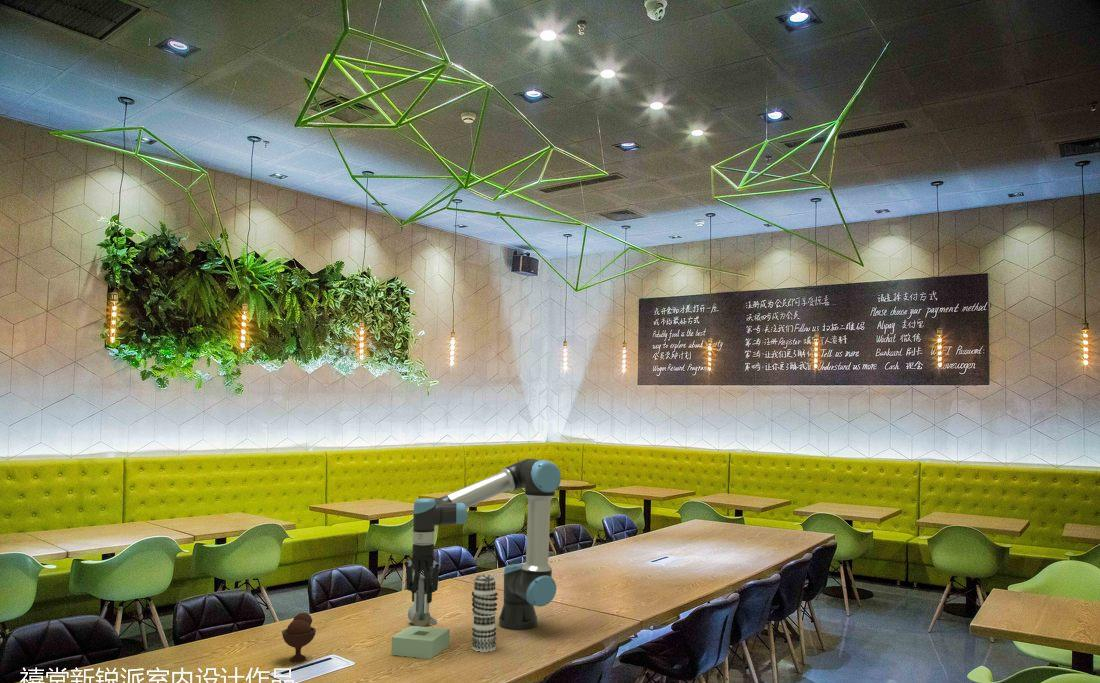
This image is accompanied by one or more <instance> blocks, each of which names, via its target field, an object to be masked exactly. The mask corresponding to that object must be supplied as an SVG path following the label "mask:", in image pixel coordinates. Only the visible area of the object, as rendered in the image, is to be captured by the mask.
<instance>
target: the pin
mask: <svg viewBox="0 0 1100 683" xmlns="http://www.w3.org/2000/svg"><path fill="white" fill-rule="evenodd" d="M426 592H427V591H426V583H425V576H424V577H423V576H422V577H421V576H420V578H418V588H417V620H419V621H422V620H426V613H424V594H425V593H426Z"/></svg>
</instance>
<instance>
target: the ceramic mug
mask: <svg viewBox="0 0 1100 683" xmlns="http://www.w3.org/2000/svg"><path fill="white" fill-rule="evenodd" d="M407 618H408V620H409V621H410V623H412V624H413V626H421V627H427V626H428V624H431V625H434V626H435V625H436V624H437V623H438V620H437V619H436V618H434V617H432V615H431V612H430V611H429V612H427V613H426V620H422V621H419V620H417V612H414V604H412V605H411V606H410V607H409V609H408V611H407Z"/></svg>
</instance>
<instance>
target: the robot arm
mask: <svg viewBox="0 0 1100 683" xmlns="http://www.w3.org/2000/svg"><path fill="white" fill-rule="evenodd" d="M561 475H562V474H561V471H560V469H559V467H558V466H557V465H556V464H555V463H554V462H552V461H549V460H545V459H535V458H525V459H522V460H520V461H517V462H515V463H512V464H511V465H508V466H506V467H503V468H502V469H501V471H500V472H498V473H495V474H493V475H492V476H488V477H486V478H483V479H481V480H479V481H477V482H475V483H472V484H469V485H467V486H464V487H462V488H460V489H457V490H454V491H452V492H450V493H448V494H446V495H444V496H441V497H438V498H425V497H424V498H423V497H421V498H418V499H415V500H414V502H413V503H414V504H413V511H412V514H413V517H412V518H413V520H412V523H413V524H412V528H413V529H412V542H413V544H412V550H411V551H412V553H411V554H412V557H411V559H410V560H409V559H408V560H407V561H405V562H404V564H403V565H404V566H405V570H406V572H405V576H406V590H407V591H410V592H411V601H412V602H413V605H414V612H417V588H418V578H421V573H422V572H423V575H424V577H425V583H426V591H427V592H426V593H425V594H424V613H427V612H429V613H430V603H432V602H433V598H432V597H433V593H434V592H437V591H438V589H439V588H438V586H439V576H440V569H441V567H442V562H437V561H436V560H435V556H434V555H435V544H434V543H435V527H436V526H449V525H455V526H457V525H460V524H461V525H462V524H465V523H466V521H467V519H468V508H470V507H472V506H474V505H475V506H476V505H478V504H479V503H482V502H484V501H487V500H488V499H490V498H494V497H495V496H499V495H500V494H502V493H505V492H507V491H509V492H514V491H516V490H520V489H524V496H525V497H526V498H527V499H528V504H527V506H528V508H527V525H526V546H525V547H526V548H525V563H515V564H507V565H505V567H504V568H503V569H504V570H503V605H502V608H501V611H500V614H499V617H498V625H499V627H502V628H504V629H509V630H528V629H531V628H535V627H536V626H537V625H538V616H537V613H536V609H535V607H540V608H541V607H544V606H545V607H546V606H547V605H549V604H550V603H551V602H552V601H553V600H554V598H555V596H556V593H557V584H556V581H555V579H554V578H553V577H552V574H553V572H552V571H553V570H552V569H553V568H552V566H550V565H549V551H550V548H549V547H550V523H551V521H550V520H551V506H552V505H551V503H552V499H554V498H555V496H556V490H558V487H560V485H561V480H562V476H561ZM413 566H414V575H413ZM431 568H433V571H432V569H431ZM431 573H432V574H431Z"/></svg>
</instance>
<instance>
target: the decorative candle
mask: <svg viewBox="0 0 1100 683" xmlns="http://www.w3.org/2000/svg"><path fill="white" fill-rule="evenodd" d="M496 581H497V579H496V578H495V577H494V576H493V574H479V575H476V577H475V578H474V579H473V582H474V583H473V584H474V585H473V586H474V587H473V591H471V596H472V598H471V602H472V603H471V605H472V609H471V610H472V616H473V624H472V626H473V627H472V629H471V630H472V633H471V634H472V638H471V640H472V642H471V646H472V647H471V650H472V649H473V650H472V651H474V650H475V651H474V652H477V651H480V652H479V653H489V652H488V651H490V652H493V650H494V651H495V650H496V649H497V647H496V646H497V637H496V635H497V631H496V630H497V628H496V615H497V612H496V611H497V610H498V608H497V606H498V604H497V603H496V601H497V600H498V595H499V594H498V593H497V588H496Z"/></svg>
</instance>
